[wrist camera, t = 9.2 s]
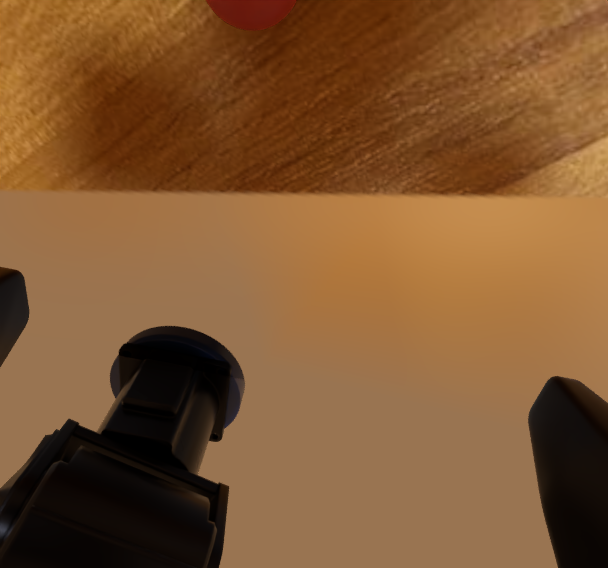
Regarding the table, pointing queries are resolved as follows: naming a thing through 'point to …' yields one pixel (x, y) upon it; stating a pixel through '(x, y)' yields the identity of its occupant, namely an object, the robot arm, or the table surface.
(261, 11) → the switch lever
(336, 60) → the table surface
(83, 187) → the table surface
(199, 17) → the table surface
